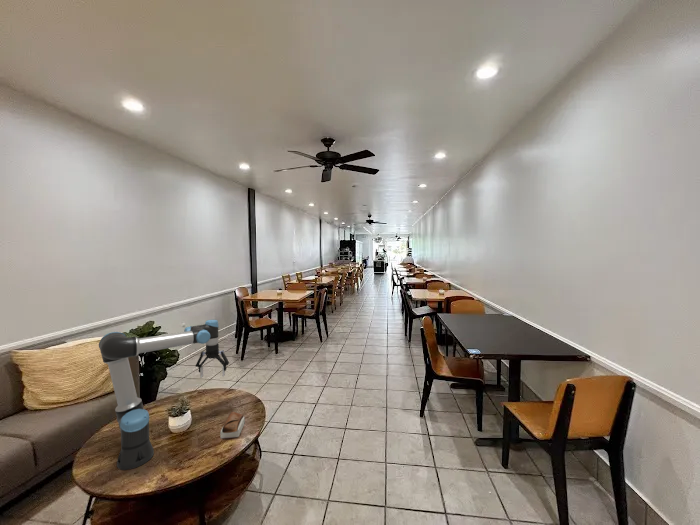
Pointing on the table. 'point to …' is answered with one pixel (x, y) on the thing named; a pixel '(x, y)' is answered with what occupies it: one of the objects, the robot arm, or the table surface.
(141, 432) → the robot arm
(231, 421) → the sunglasses case
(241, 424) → the block
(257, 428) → the table surface
